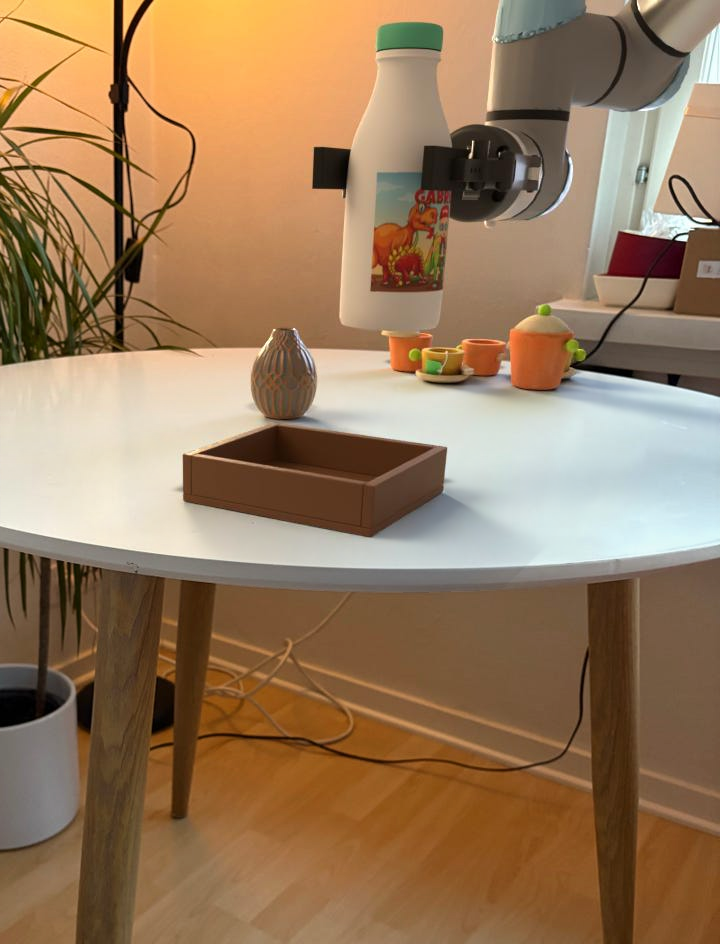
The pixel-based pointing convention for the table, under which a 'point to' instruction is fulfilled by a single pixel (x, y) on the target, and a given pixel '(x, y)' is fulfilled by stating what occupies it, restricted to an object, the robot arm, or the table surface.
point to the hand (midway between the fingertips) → (371, 168)
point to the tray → (315, 477)
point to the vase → (284, 376)
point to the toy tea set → (493, 354)
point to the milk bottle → (396, 190)
